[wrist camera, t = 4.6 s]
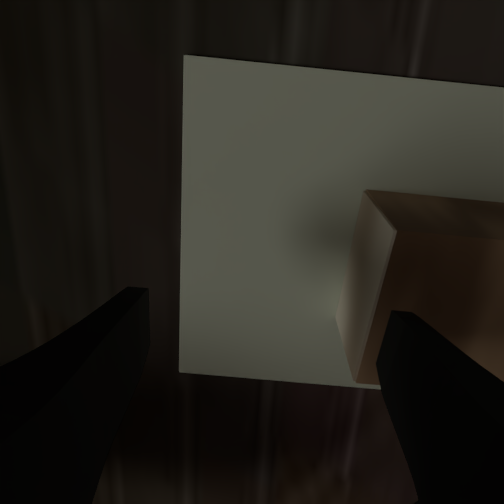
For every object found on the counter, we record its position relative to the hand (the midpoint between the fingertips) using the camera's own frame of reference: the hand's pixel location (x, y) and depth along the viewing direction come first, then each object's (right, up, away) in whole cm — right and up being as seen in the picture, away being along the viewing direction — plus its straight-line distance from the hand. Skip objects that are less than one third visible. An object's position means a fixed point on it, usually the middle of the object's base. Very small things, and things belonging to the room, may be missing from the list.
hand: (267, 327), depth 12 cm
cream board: (+6, +2, +5) cm, 8 cm away
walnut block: (+3, +1, +3) cm, 5 cm away
